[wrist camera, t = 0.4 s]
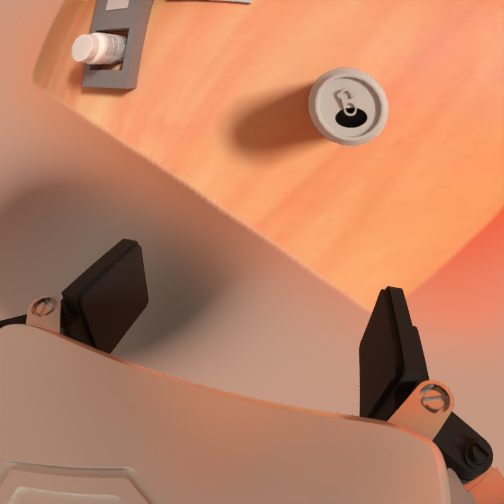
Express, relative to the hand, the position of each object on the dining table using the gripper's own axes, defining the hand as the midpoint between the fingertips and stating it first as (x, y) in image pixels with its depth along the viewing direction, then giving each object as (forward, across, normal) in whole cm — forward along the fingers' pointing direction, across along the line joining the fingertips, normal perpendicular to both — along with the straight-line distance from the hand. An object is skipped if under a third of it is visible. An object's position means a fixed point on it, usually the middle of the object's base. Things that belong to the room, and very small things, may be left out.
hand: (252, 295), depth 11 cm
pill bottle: (+30, +28, -14) cm, 44 cm away
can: (+30, -4, -7) cm, 31 cm away
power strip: (+30, +28, -21) cm, 46 cm away
